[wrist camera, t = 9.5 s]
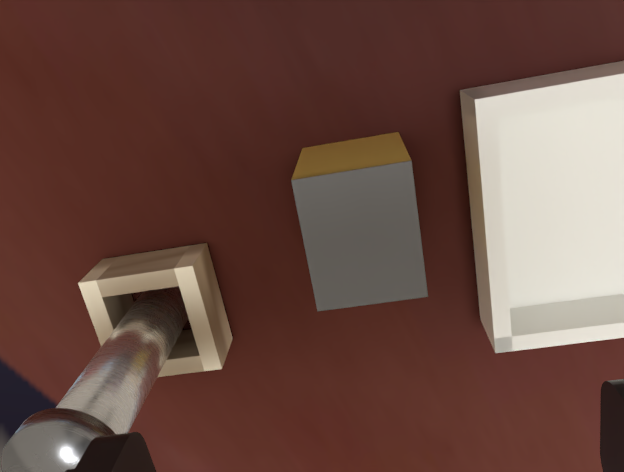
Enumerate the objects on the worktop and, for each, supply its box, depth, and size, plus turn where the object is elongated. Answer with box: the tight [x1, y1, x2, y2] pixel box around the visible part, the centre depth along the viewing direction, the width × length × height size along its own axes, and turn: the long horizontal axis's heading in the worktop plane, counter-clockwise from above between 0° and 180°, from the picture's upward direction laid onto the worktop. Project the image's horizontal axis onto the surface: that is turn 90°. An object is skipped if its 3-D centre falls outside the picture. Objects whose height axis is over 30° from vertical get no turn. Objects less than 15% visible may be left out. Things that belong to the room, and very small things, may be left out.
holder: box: [78, 243, 233, 377], centre depth 25 cm, size 5×5×2 cm
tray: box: [460, 61, 624, 353], centre depth 22 cm, size 10×8×3 cm
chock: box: [291, 132, 428, 311], centre depth 22 cm, size 5×4×5 cm
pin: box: [1, 286, 188, 472], centre depth 21 cm, size 3×3×11 cm
